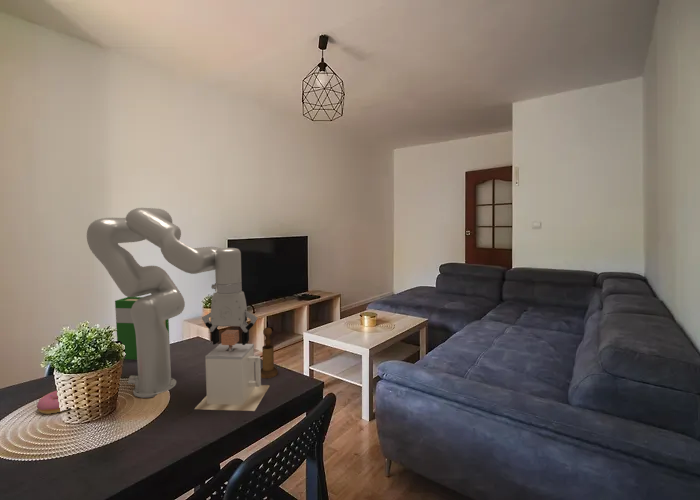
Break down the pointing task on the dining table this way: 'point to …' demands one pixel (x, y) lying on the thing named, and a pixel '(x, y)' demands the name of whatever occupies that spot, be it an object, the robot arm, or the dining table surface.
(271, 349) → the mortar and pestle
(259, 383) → the press pot
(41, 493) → the dining table surface
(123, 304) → the hardback book
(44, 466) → the dining table surface
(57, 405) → the doughnut
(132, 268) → the robot arm
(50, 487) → the dining table surface
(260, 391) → the birch board
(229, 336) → the brown square-faced block
